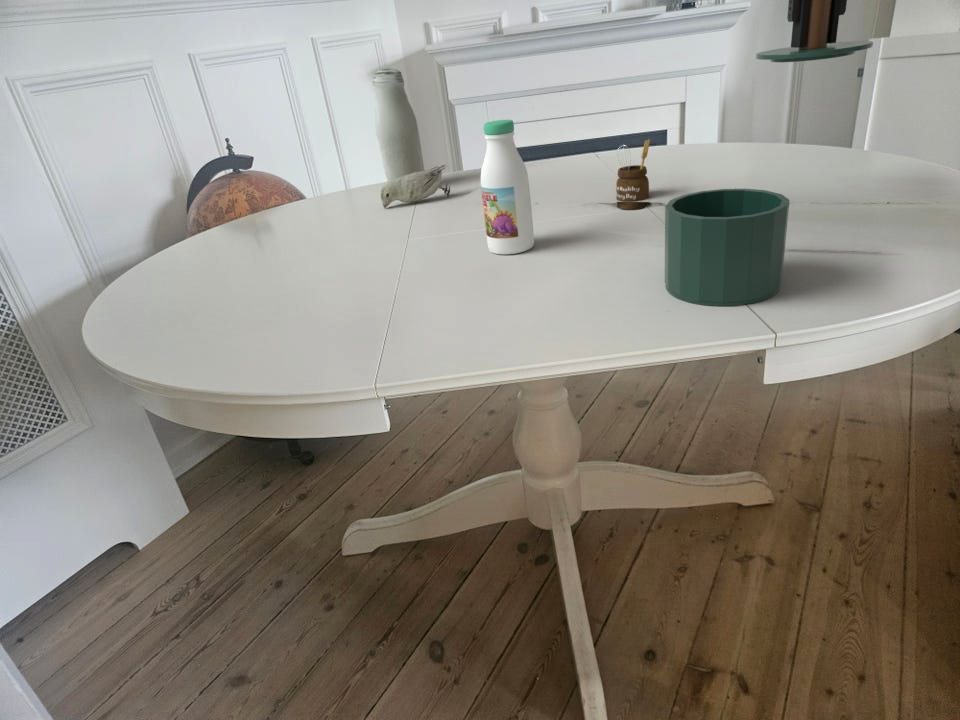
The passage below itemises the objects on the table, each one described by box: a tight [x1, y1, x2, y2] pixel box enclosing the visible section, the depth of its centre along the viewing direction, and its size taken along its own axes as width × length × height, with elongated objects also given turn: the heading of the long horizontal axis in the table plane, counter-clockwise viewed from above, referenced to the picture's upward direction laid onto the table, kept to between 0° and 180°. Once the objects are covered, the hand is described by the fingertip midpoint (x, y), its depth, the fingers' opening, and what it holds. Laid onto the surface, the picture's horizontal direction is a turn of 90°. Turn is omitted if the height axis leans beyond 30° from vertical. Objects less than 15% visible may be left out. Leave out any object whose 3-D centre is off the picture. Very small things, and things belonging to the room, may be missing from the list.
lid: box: [755, 0, 874, 63], centre depth 88 cm, size 15×15×9 cm
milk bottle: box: [480, 119, 535, 255], centre depth 100 cm, size 8×8×20 cm
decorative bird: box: [380, 162, 452, 209], centre depth 143 cm, size 5×16×7 cm, turn 105°
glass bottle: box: [372, 67, 425, 181], centre depth 153 cm, size 10×10×28 cm
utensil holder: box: [615, 138, 651, 211], centre depth 116 cm, size 6×6×12 cm
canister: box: [664, 188, 791, 307], centre depth 77 cm, size 14×14×10 cm
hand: (813, 44), depth 90 cm, fingers closed on lid, 4 cm apart
